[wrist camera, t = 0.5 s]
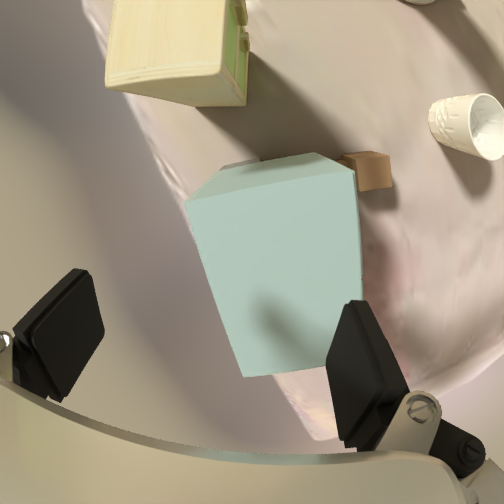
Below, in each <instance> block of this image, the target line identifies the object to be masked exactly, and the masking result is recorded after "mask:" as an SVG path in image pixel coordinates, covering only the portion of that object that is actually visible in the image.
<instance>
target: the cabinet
mask: <svg viewBox="0 0 504 504" xmlns="http://www.w3.org/2000/svg"><path fill="white" fill-rule="evenodd" d="M184 205H185V208H186V212H187V215H188V219H189V222H190V225H191V228H192V232H193V235H194V238H195V241H196V245H197V248H198V251H199V254H200V257H201V260H202V263H203V266H204V269H205V272H206V275H207V278H208V281H209V284H210V287H211V290H212V293H213V296H214V299H215V302H216V305H217V308H218V311H219V313H220V316H221V319H222V322H223V324H224V327H225V330H226V333H227V336H228V338H229V341H230V344H231V346H232V349H233V352H234V354H235V357H236V360H237V362H238V365H239V368H240V370H241V373H242V375H243V377H251V376H261V375H269V374H277V373H285V372H292V371H298V370H305V369H311V368H316V367H322V366H326V357H327V354H328V351H329V348H330V346H331V343H332V340H333V337H334V334H335V331H336V328H337V325H338V322H339V319H340V316H341V313H342V310H343V307H344V305H345V304H346V303H347V304H349V302H350V300H363V280H362V278H361V276H363V267H362V246H361V230H360V218H359V207H358V197H357V188H356V180H355V172H354V171H353V170H351V169H349V168H347V167H345V166H343V165H341V164H339V163H337V162H335V161H333V160H331V159H329V158H326V157H324V156H322V155H320V154H318V153H316V152H312V153H306V154H300V155H294V156H288V157H283V158H277V159H272V160H267V161H262V162H261V160H260V158H258V159H253V160H248V161H244V162H239V163H235V164H230V165H226V166H224V167H222V168H221V169H220V170H219V171H218V172H217V173H216V174H215V175H213V176H212V177H211V178H210V179H209V180H208V181H207V182H206V183H205V184H203V185H202V186H201V187H200V188H199V189H198V190H197V191H196V192H195V193H194V194H193V195H192V196H191V197H190V198H188V199H187V200H186V201H185V202H184Z"/></svg>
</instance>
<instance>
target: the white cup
mask: <svg viewBox="0 0 504 504" xmlns="http://www.w3.org/2000/svg"><path fill="white" fill-rule="evenodd" d="M428 123H429V127H430V130H431V133H432V134H433V136H434V137H435V139H436V140H437V141H438V142H440V143H442V144H443V145H445V146H449V147H452V148H454V149H457V150H460V151H463V152H465V153H468V154H472V155H475V156H478V157H481V158H483V159H486V160H489V161H496V160H498V159H500V158H501V157H502V156H503V155H504V109H503V107H502V106H501V104H500V103H499V102H498V101H497V100H496V99H495V98H494V97H493V96H491V95H489V94H485V93H483V94H473V95H464V96H457V97H451V98H448V99H441V100H438V101H437V102H435V103H433V104H432V106H431V108H430V110H429V116H428Z"/></svg>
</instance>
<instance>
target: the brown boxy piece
mask: <svg viewBox="0 0 504 504" xmlns="http://www.w3.org/2000/svg"><path fill="white" fill-rule="evenodd" d="M341 156H342V160H335V162H337V163H339V164H341V165H343V166H345V167H347V168H349V169H351V170H353V171H354V172H355V180H356V188H357V190H358V191H360V192H361V191H368V190H375V189H382V188H389V187H392V176H391V166H390V157H389V156H388V155H384V154H381V153H377V152H373V151H365V152H356V153H348V154H341Z"/></svg>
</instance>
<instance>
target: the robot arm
mask: <svg viewBox="0 0 504 504" xmlns="http://www.w3.org/2000/svg"><path fill="white" fill-rule="evenodd" d="M404 1H407V2H409V3H413V4H418V5H426V4H430V3H432V2H434V1H435V0H404ZM13 331H14V333H15V337H14V338H13V337H12V336H11V334H10V333H8V332H6V331H0V504H504V471H503V470H502V469H501V468H499V466H498V465H497V464H495V462H493V461H492V460H491V459H490V458H488V459H487V460H486V459H485V455H486V453H485V448H484V445H483V444H482V442H481V441H480V440H479V439H478V438H477V437H475V436H473V435H471V434H469V433H467V432H465V431H464V430H462V429H460V428H458V427H456V426H454V425H452V424H450V423H448V422H447V421H445V420H443V419H441V416H442V410H441V406H440V404H439V402H438V400H437V399H436V398H435V397H434V396H432V395H431V394H429V393H427V392H424V391H413V392H410V390H409V388H408V386H407V383H406V381H405V379H404V376H403V374H402V372H401V369H400V367H399V365H398V363H397V360H396V358H395V356H394V354H393V352H392V349H391V347H390V345H389V343H388V341H387V339H386V338H385V336H384V334H383V332H382V330H381V328H380V326H379V324H378V322H377V320H376V318H375V316H374V314H373V312H372V310H371V308H370V306H369V304H368V302H367V301H365V300H350V302H349V304H347V303H346V304H345V305H344V307H343V310H342V313H341V316H340V319H339V322H338V325H337V328H336V331H335V334H334V337H333V340H332V343H331V346H330V348H329V351H328V354H327V357H326V370H327V375H328V380H329V386H330V391H331V396H332V401H333V407H334V412H335V418H336V424H337V430H338V435H339V439H340V440H341V441H344V445H345V448H353V447H356V448H357V452H353V453H337V454H315V455H278V454H256V453H242V452H232V451H223V450H215V449H208V448H202V447H196V446H190V445H184V444H179V443H174V442H169V441H164V440H160V439H156V438H152V437H148V436H144V435H140V434H136V433H133V432H130V431H126V430H123V429H120V428H117V427H113V426H110V425H107V424H104V423H102V422H98V421H96V420H93V419H90V418H88V417H85V416H82V415H80V414H77V413H75V412H73V411H70V410H68V409H65V408H63V407H61V406H59V405H56V404H54V403H52V402H50V401H48V400H46V398H47V396H48V395H49V397H50V398H51V399H53V400H55V401H57V402H59V403H61V402H62V400H63V398H64V397H66V396H68V394H69V393H70V391H71V389H72V387H73V386H74V384H75V382H76V381H77V379H78V377H79V376H80V374H81V372H82V371H83V369H84V367H85V366H86V364H87V362H88V361H89V359H90V358H91V356H92V354H93V353H94V351H95V350H96V348H97V346H98V345H99V343H100V342H101V340H102V339H103V337H104V332H105V329H104V325H103V322H102V318H101V315H100V311H99V306H98V302H97V297H96V293H95V288H94V284H93V279H92V276H91V275H90V274H89V273H88V271H87V270H82V269H75V268H74V269H72V270H71V271H70V272H69V273H68V274H67V275H66V276H65V277H63V278H62V279H61V280H60V281H59V282H58V283H57V284H56V285H55V286H54V287H53V288H52V289H51V290H50V291H49V292H48V293H47V294H46V295H44V296H43V297H42V298H41V299H40V300H39V302H37V303H36V304H35V305H34V306H33V308H31V309H30V310H29V311H28V313H27V314H26V315H25V316H24V317H23V318H22V319H21V320H20V321H19V322H18V323H17V324H16V325H15V326H14V327H13Z"/></svg>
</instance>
